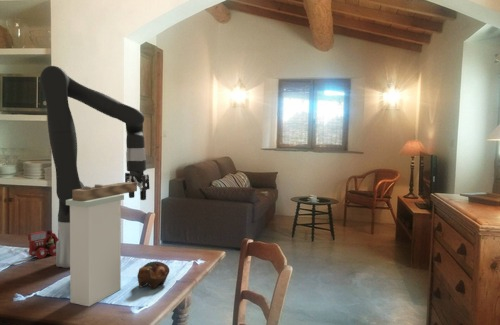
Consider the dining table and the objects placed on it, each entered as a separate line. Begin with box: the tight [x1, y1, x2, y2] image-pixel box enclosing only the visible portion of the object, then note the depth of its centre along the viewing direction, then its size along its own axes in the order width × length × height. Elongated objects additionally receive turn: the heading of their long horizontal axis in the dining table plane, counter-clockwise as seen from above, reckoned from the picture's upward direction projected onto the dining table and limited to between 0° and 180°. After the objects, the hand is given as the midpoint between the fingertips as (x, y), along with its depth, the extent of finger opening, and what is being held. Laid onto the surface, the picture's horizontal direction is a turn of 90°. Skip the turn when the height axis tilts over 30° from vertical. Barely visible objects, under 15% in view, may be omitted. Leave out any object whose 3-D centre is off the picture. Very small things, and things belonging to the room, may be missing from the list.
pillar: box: [66, 194, 125, 307], centre depth 119 cm, size 16×8×31 cm, turn 160°
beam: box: [72, 181, 138, 201], centre depth 123 cm, size 25×4×4 cm, turn 160°
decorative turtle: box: [137, 261, 170, 290], centre depth 129 cm, size 10×15×8 cm, turn 165°
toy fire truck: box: [27, 229, 58, 259], centre depth 159 cm, size 7×12×10 cm, turn 147°
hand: (137, 198), depth 156 cm, fingers open, 8 cm apart
